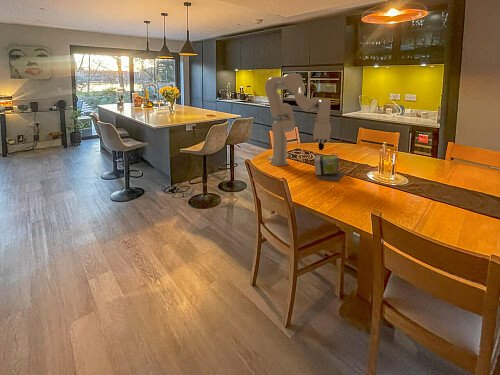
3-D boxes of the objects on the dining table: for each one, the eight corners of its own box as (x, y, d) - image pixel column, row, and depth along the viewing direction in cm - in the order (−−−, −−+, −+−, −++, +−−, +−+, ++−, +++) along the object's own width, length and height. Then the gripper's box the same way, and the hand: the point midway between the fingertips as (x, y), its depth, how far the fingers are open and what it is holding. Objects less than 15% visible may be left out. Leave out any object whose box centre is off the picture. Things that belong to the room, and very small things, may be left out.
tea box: (315, 175, 217) (339, 173, 213) (313, 160, 214) (338, 157, 211) (316, 170, 231) (339, 168, 227) (315, 156, 229) (337, 153, 225)
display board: (317, 178, 213) (317, 177, 213) (325, 171, 228) (325, 170, 228) (337, 182, 208) (338, 180, 207) (345, 174, 223) (345, 172, 222)
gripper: (309, 120, 210) (307, 149, 216) (333, 122, 204) (331, 152, 210) (313, 118, 216) (311, 147, 223) (336, 120, 210) (334, 149, 216)
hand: (321, 149), depth 216 cm, fingers closed
